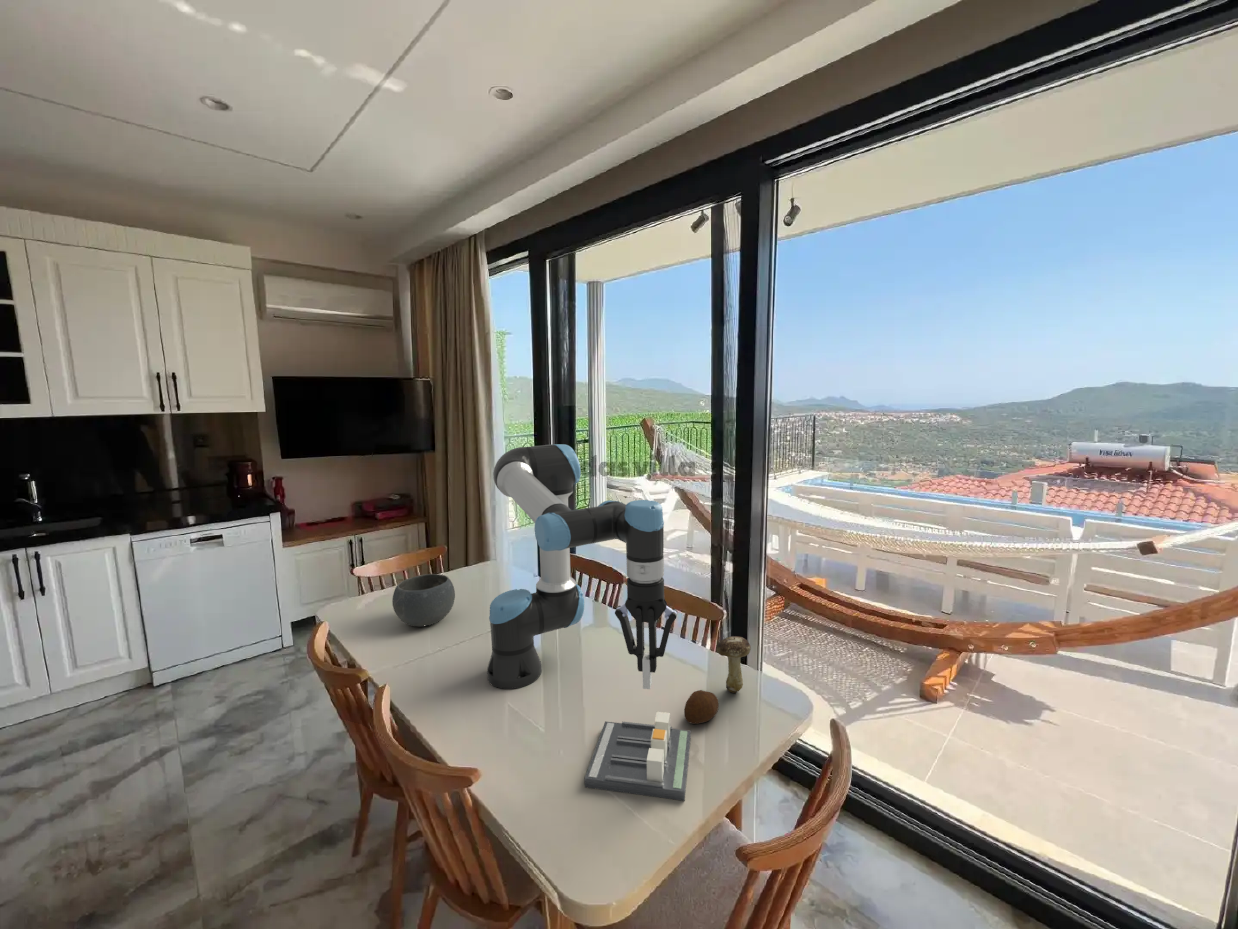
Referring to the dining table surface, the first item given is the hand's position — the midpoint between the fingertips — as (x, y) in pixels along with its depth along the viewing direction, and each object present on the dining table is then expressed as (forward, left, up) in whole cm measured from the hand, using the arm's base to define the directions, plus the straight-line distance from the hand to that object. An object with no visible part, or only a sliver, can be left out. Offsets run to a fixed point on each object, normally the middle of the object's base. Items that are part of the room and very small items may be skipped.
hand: (647, 685), depth 106 cm
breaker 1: (+2, +6, -16) cm, 17 cm away
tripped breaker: (+2, 0, -16) cm, 16 cm away
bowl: (-88, +55, -18) cm, 105 cm away
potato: (+11, +17, -18) cm, 27 cm away
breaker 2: (+2, -6, -16) cm, 17 cm away
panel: (-2, 0, -18) cm, 18 cm away
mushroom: (+18, +29, -18) cm, 39 cm away
